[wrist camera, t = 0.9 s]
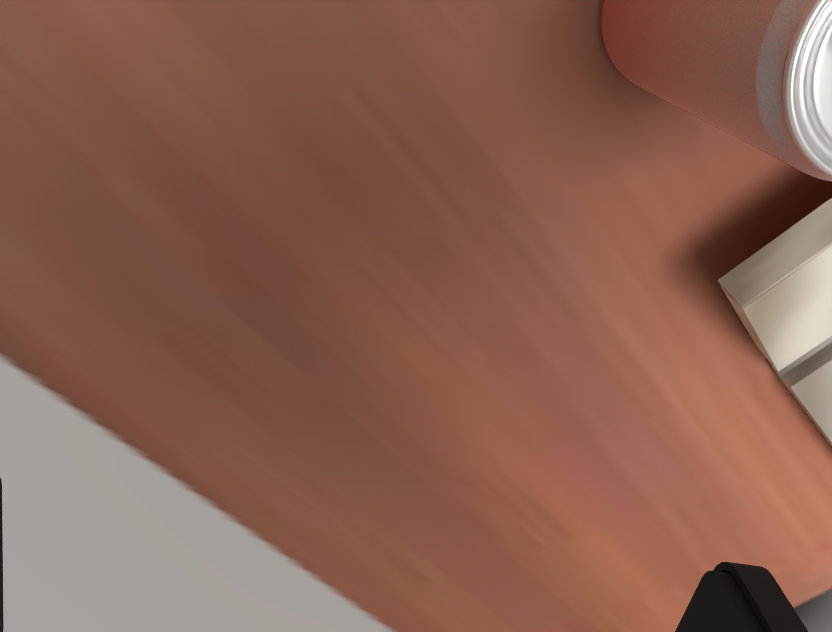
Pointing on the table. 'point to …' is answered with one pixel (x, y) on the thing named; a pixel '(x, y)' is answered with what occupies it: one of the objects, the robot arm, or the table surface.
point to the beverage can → (736, 68)
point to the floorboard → (813, 385)
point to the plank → (787, 290)
